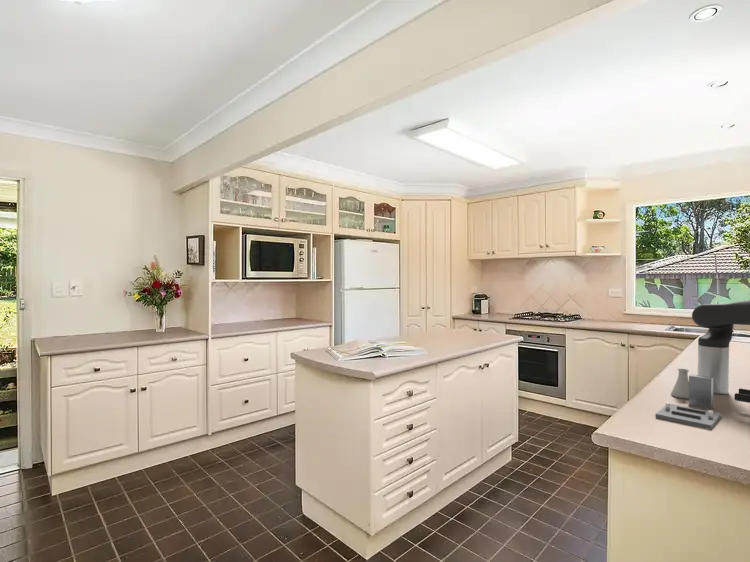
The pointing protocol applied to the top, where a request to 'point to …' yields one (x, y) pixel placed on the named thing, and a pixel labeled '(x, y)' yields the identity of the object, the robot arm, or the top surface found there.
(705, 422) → the gray docking base
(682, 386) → the flask
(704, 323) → the robot arm
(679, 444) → the top surface
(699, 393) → the drive
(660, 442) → the top surface
